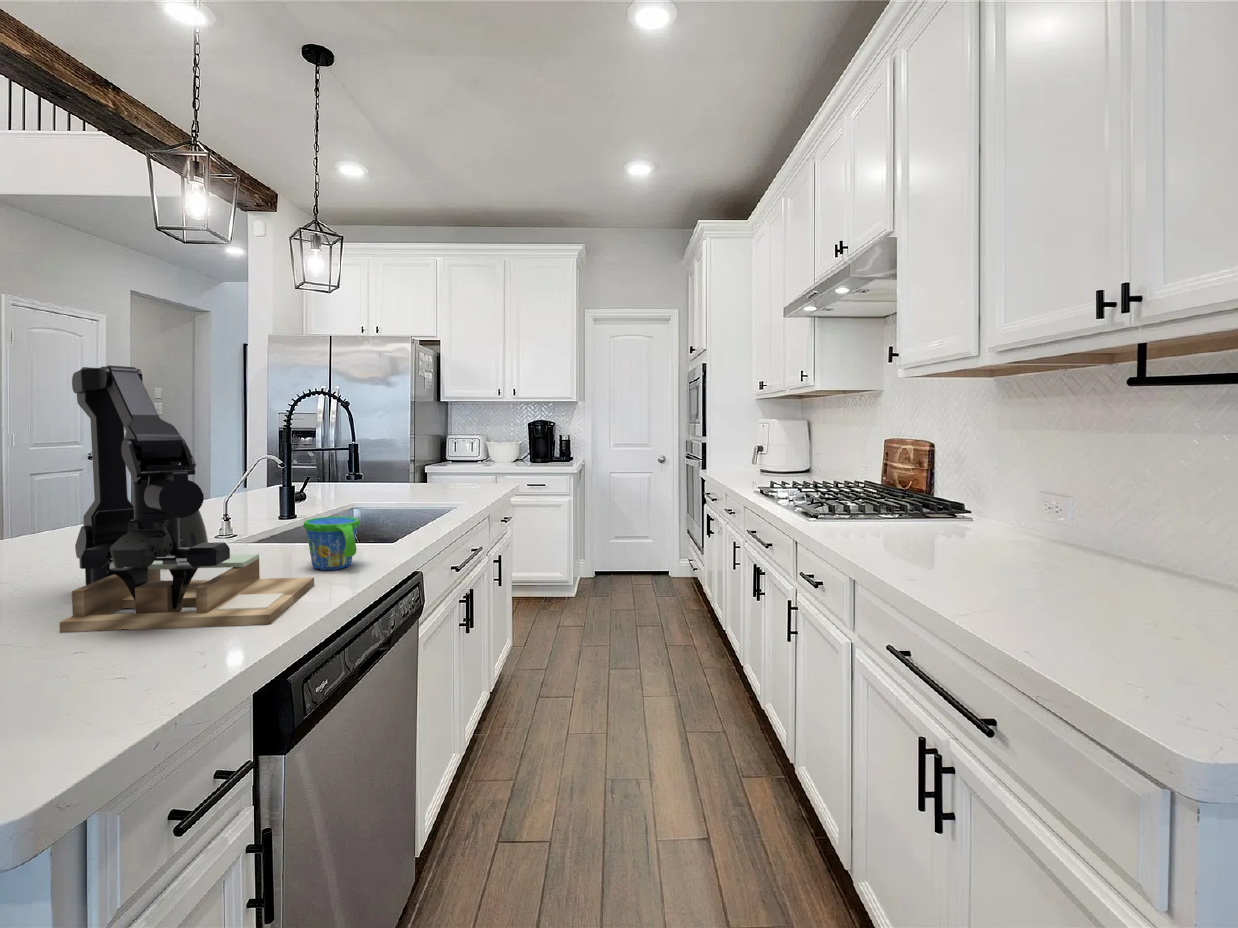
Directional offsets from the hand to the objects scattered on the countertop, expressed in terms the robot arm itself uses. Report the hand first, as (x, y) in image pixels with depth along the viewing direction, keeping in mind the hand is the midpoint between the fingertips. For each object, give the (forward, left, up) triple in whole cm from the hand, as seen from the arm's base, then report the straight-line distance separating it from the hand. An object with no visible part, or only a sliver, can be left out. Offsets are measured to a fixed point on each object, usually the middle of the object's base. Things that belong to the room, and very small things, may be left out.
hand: (159, 608), depth 98 cm
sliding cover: (0, +11, +5) cm, 12 cm away
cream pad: (+14, 0, 0) cm, 14 cm away
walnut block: (0, 0, -1) cm, 1 cm away
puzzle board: (+4, +4, -1) cm, 6 cm away
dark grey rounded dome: (-14, +37, -1) cm, 40 cm away
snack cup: (+18, +31, -1) cm, 36 cm away
